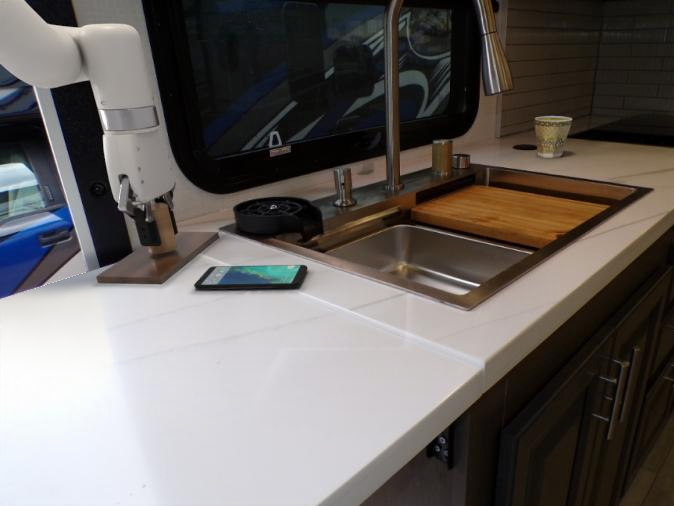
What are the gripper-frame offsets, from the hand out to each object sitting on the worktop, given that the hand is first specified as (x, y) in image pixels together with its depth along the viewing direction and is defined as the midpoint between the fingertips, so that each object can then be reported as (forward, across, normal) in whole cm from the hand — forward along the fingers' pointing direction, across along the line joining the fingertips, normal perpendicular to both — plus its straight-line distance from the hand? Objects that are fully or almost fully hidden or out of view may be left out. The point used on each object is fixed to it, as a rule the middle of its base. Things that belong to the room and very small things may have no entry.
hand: (160, 238), depth 84 cm
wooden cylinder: (+2, 0, 0) cm, 2 cm away
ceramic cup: (+4, -82, +73) cm, 110 cm away
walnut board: (+3, 0, 0) cm, 3 cm away
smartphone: (+3, +8, +18) cm, 20 cm away
